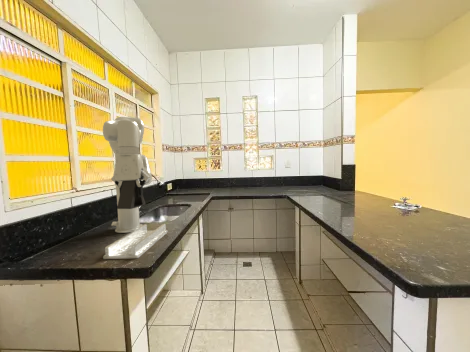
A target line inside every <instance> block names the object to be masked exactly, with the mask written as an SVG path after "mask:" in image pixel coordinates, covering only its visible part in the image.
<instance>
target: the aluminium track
mask: <svg viewBox="0 0 470 352" xmlns="http://www.w3.org/2000/svg"><path fill="white" fill-rule="evenodd" d="M147 227H148V225H147V224H145V223H144V224H142V226H141V227H139V228H137V229H136V230H134V231H132V232H128V233H127V234H126V235H124V236H122V237H120V238H119V239H117V240H115V241H114V242H112V243H111V244H108V245H107V246H105V248H104V251H105V254H104V255H103V260H117V259H118V260H120V259H124V260H125V259H126V260H127V259H128V260H129V259H139V258H140V257H142V255H144V254H145V252H147V251H148V250H149V249H151V248H152V247H153V246H154V245H155V244H156V243H157V242H158V241H159V240H160V239H161V238H163V237H164V236H165V235H166V234H168V233H169V231H168V230H167V226H166V223H162V224H161V225H160V226H158V227H157V228H155V229H153V230H152V229H151V230H148V228H147Z"/></svg>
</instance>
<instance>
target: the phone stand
mask: <svg viewBox="0 0 470 352" xmlns="http://www.w3.org/2000/svg"><path fill="white" fill-rule="evenodd" d="M137 187H138V186H137V183H136V181H135V180H132V181H123V182H122V187H121V192H120V197H119V201H118V206H117V207H116V209H117V210H118V209H133V208H136V207H143V206H146V201H145V198H144V195H143V196H142V197H137V190H136V188H137Z"/></svg>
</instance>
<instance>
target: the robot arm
mask: <svg viewBox="0 0 470 352" xmlns="http://www.w3.org/2000/svg"><path fill="white" fill-rule="evenodd" d="M144 134H145V124H144V121H143V120H142V119H141V118H139V117H131V116H130V117H129V116H117V117H116V118H115V119H113V120H111V119H110V120H106V121H105V122H104V123H103V125H102V137H103V138H104V139H105V141H107V142H108V144H109V146H110V148H111V150H112V152H113V153H114V159H115V161H114V162H115V163H114V171H113V176H112V177H111V181H112V182H114V186H115V191H116V193H115V194H116V202H117V203H116V204H117V206H118V201H119V197H120V192H121V187H122V182H123V181H132V180H135V181H136V183H137V186H138V187H137V188H136V190H137V197H142V196H143V197H144V187H145V186H147V185H150V184H151V183H152V181H153V176H152V170H151V165H150V162H149V159H148V157H147V156H146V155H145V154H140V153H141V152H140V144H142V143H143V141H144V140H143V138H144ZM117 219H118V220H117V221H112V223H111V225H110V226H111V227H115V229H114V232H115V233H118V234H124V233H127V234H128V233H131V232H132V231H134V230H136V229H137V228H139V227H141V226H142V225H143V223H140V209H139V207H136V208H133V209H117Z"/></svg>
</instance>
